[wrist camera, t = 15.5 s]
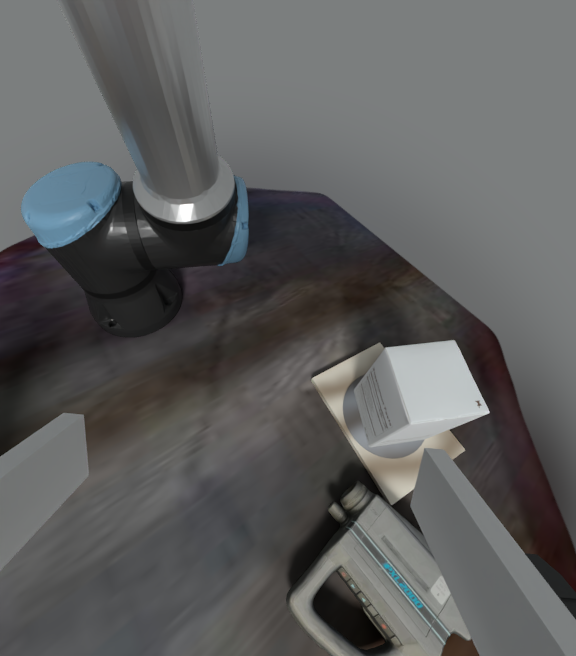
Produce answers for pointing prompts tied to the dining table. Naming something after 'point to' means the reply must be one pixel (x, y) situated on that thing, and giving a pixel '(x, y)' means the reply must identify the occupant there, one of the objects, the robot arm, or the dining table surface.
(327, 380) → the board
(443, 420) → the supplement box
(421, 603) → the camcorder
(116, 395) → the dining table surface
